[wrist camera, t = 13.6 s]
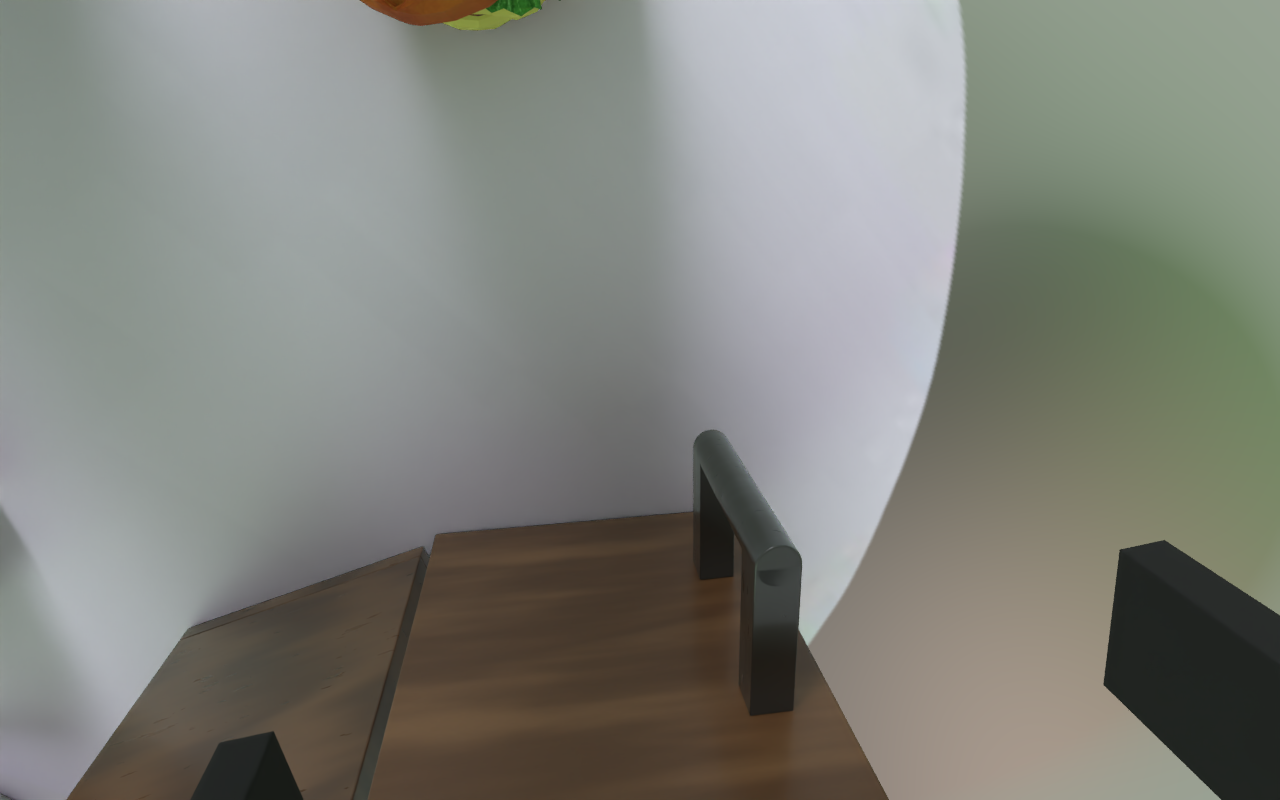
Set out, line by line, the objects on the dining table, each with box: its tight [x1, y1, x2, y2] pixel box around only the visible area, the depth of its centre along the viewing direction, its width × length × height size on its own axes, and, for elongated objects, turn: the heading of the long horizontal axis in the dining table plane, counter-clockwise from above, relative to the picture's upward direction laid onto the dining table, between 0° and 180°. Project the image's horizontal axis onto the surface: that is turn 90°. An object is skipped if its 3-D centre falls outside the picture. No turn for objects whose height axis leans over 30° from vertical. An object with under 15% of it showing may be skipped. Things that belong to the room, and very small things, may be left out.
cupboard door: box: [367, 430, 889, 800], centre depth 29 cm, size 8×16×20 cm, turn 91°
